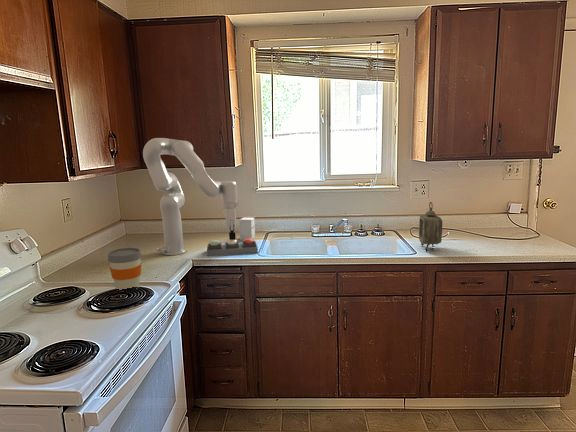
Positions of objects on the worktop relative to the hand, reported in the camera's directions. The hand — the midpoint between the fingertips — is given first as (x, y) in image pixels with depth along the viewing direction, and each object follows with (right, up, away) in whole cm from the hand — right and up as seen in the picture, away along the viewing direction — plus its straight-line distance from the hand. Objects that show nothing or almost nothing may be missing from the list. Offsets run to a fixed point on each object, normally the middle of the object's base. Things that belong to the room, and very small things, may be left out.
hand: (232, 239), depth 213 cm
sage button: (-9, -3, -1) cm, 10 cm away
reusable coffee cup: (-36, -17, -47) cm, 62 cm away
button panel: (0, -7, +1) cm, 7 cm away
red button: (+9, -2, +2) cm, 9 cm away
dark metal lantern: (+104, -5, 0) cm, 104 cm away
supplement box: (+5, -2, +27) cm, 28 cm away
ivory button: (0, -2, 0) cm, 3 cm away
